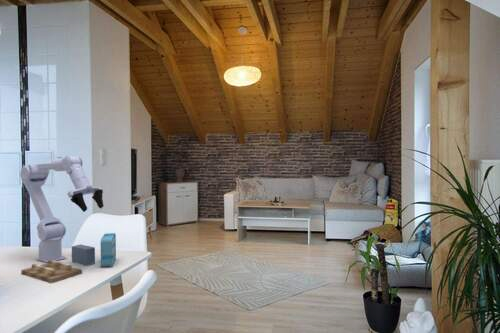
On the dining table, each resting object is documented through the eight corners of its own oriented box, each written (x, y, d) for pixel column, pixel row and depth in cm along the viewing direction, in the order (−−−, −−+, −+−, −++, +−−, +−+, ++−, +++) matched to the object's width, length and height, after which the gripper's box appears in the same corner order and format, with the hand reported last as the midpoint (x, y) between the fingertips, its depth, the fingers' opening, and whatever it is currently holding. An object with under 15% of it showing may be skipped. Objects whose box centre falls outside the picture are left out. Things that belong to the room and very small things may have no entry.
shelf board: (21, 273, 134) (21, 264, 134) (51, 265, 145) (51, 257, 145) (51, 283, 125) (51, 273, 125) (81, 273, 135) (81, 264, 135)
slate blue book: (71, 262, 150) (71, 246, 149) (80, 259, 153) (80, 244, 153) (86, 266, 145) (86, 249, 144) (94, 263, 148) (94, 247, 148)
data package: (112, 267, 143) (112, 238, 143) (100, 268, 142) (100, 239, 142) (115, 258, 155) (115, 232, 154) (105, 259, 153) (104, 232, 153)
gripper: (68, 177, 136) (82, 206, 133) (100, 174, 149) (113, 201, 146) (60, 187, 139) (73, 215, 136) (92, 183, 152) (104, 209, 149)
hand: (93, 208), depth 141 cm, fingers open, 7 cm apart
